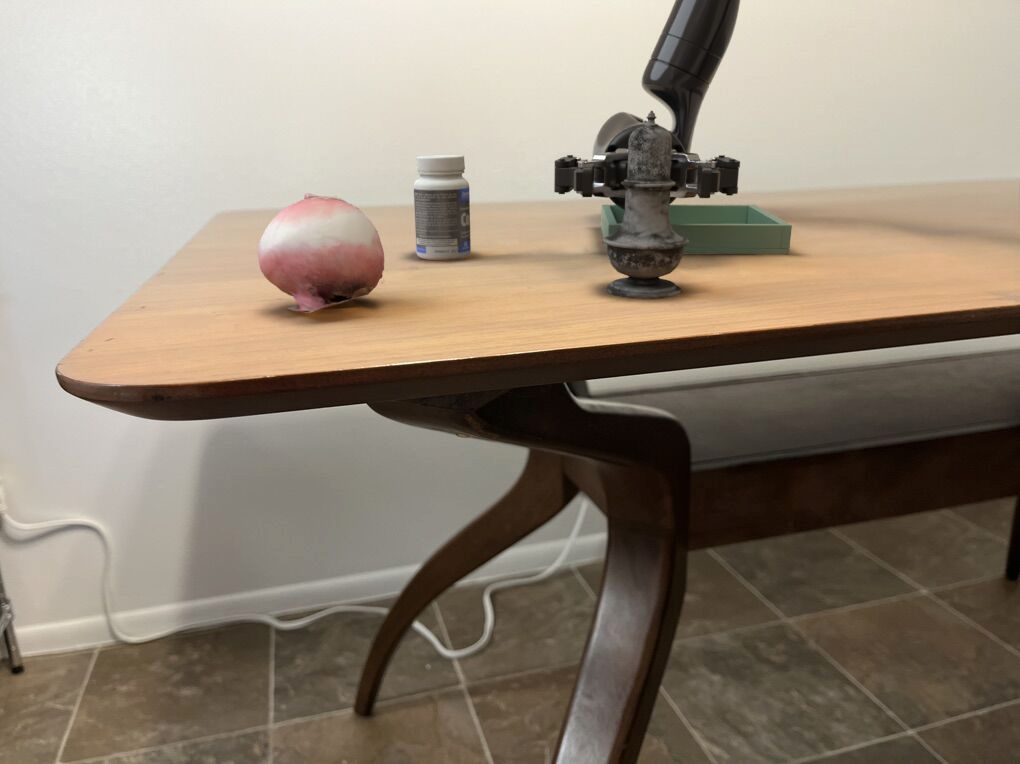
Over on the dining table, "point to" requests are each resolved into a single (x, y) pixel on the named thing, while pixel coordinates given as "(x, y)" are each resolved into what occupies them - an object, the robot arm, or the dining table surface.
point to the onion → (321, 253)
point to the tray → (717, 228)
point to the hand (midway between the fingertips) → (646, 182)
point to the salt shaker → (646, 220)
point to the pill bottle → (442, 208)
